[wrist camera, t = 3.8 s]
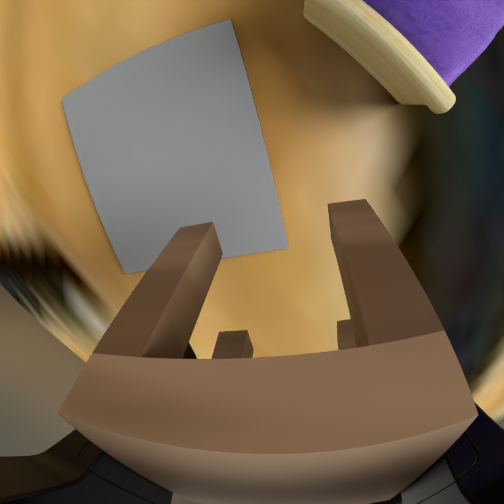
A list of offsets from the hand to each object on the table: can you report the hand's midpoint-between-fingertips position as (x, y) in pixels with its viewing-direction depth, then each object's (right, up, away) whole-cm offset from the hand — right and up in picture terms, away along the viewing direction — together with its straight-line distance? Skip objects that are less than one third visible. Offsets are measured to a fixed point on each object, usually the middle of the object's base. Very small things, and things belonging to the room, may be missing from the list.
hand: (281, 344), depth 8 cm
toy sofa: (+12, +21, +1) cm, 24 cm away
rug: (-7, +9, +10) cm, 15 cm away
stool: (0, +1, +2) cm, 2 cm away
